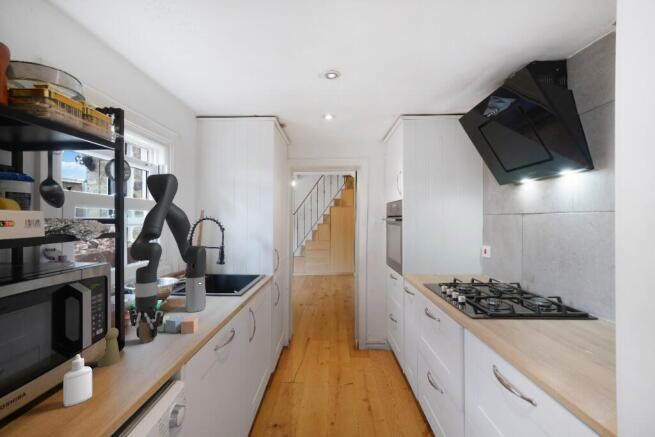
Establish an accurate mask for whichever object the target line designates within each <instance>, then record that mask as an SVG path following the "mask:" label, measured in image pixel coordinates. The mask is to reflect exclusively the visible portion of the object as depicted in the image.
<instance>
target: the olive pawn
mask: <svg viewBox="0 0 655 437" xmlns="http://www.w3.org/2000/svg"><path fill="white" fill-rule="evenodd" d="M109 328H110V330H109V331H108V332H107V334H106V336H105V340H106V349H105V352H106V354H105V355H104V356H102V357H101V358H99V357H98V358H99V359H98V358H97V367H98V368H104V367H103V366H106V367H111V366H113V365H116V364H117V363H119V362H120V361H121V357H120V351H119V343H118V339H117V338H118V336H119V334H120V333H119V329H118V328H116V327H109ZM110 365H111V366H110Z"/></svg>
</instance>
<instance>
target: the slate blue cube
mask: <svg viewBox="0 0 655 437" xmlns="http://www.w3.org/2000/svg"><path fill="white" fill-rule="evenodd" d="M184 319H185V317H184V316H179V315H177V316H176V315H175V316H172V317H170V318H169V319H167V320H166V330H165V333H174V334H176V333H178V332H181V321H183V320H184Z"/></svg>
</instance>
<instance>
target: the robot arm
mask: <svg viewBox="0 0 655 437" xmlns="http://www.w3.org/2000/svg"><path fill="white" fill-rule="evenodd" d="M145 181H146V182H145V183H146V187H147V190H148V192H149V194H150V195H151V197H152V198H153V200H154V203H155V205H154V206H153V207H152V208H150V210H149V211H148V212H147V214H146V215H145V217H144V220H143V223H142V228H141V230H140V232H139V233H138V235H137V237H136V238H135V240H134V242H133V243H132V244H131V246H130V249H129V250H130V251H129V256H130V258H131V259H132V260H133V261H138V262H139V261H144V262H145V261H148V262H147V265H144V266H140V267H138V268H137V269H136V270H135V287H134V307H135V309H132V310H131V309H130V310H129V312H128V313H129V320H130V326H131V327H135V329H136V338H138V339H139V322H140V321H143V320H146V321H147V322H148V324H150V327H151V339H153V338H154V339H156V337H157V336H158V331H157V327H159V326H161V325H162V323H163V317H164V316H165V310H158V308H157V305H159V302H158V301H159V299H158V298H159V288H158V287H159V286H158V268H159V264H160V261H161V257H162V254H163V248H162V246H161V244H160V243H158V242H154V241H155V240H158V239H159V238H160V237H161V235H162V232H163V230H164V229H163V227H164V225H165V222H166V225H167V226H168V228H169V231H170V232H171V235H172V236H173V238H174V241H175V243H176V245H177V249H178V252H179V254H180V257H181V259H182V261H183V262H184V263H185V264H189V265H190V264H193V265H194V268H192V269H189V270H187V271H185V312H189V313H196V312H197V313H198V312H202V311H203V310H205V309H206V307H207V305H206V304H207V301H206V300H207V297H206V296H207V292H206V291H207V290H206V270H207V250H206V248H205V247H204V246H203V245H190V243H189V240H188V238H189V235H190V231H191V222H190V220H189V217H188V215H187V213H186V211H184V210H183V209H182V208H180V207H179V206H177V204H175V203H174V199H175V197H176V195H177V193H178V189H179V181H178V178H177V177H176V175H175V174H173V173H157V174H155V173H154V174H150V175H148V176H147V177H146V180H145ZM151 319H153V320H152V321H151ZM153 322H154V325H153Z"/></svg>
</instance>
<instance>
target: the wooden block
mask: <svg viewBox="0 0 655 437" xmlns="http://www.w3.org/2000/svg"><path fill="white" fill-rule="evenodd" d="M151 321H152V319H151ZM153 325H154V322H153ZM154 340H155V338H153V339H151V327H150V324H148V322H147V321H146V320H143V321H140V322H139V338H138V342H140V343H142V344H148V343H149V342H153V341H154Z"/></svg>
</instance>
